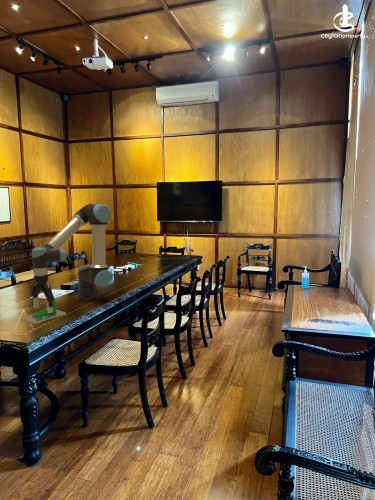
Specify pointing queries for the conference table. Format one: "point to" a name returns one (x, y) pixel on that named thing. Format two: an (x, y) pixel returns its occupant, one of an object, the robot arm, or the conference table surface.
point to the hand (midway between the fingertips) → (43, 310)
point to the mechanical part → (45, 311)
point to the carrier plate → (36, 320)
